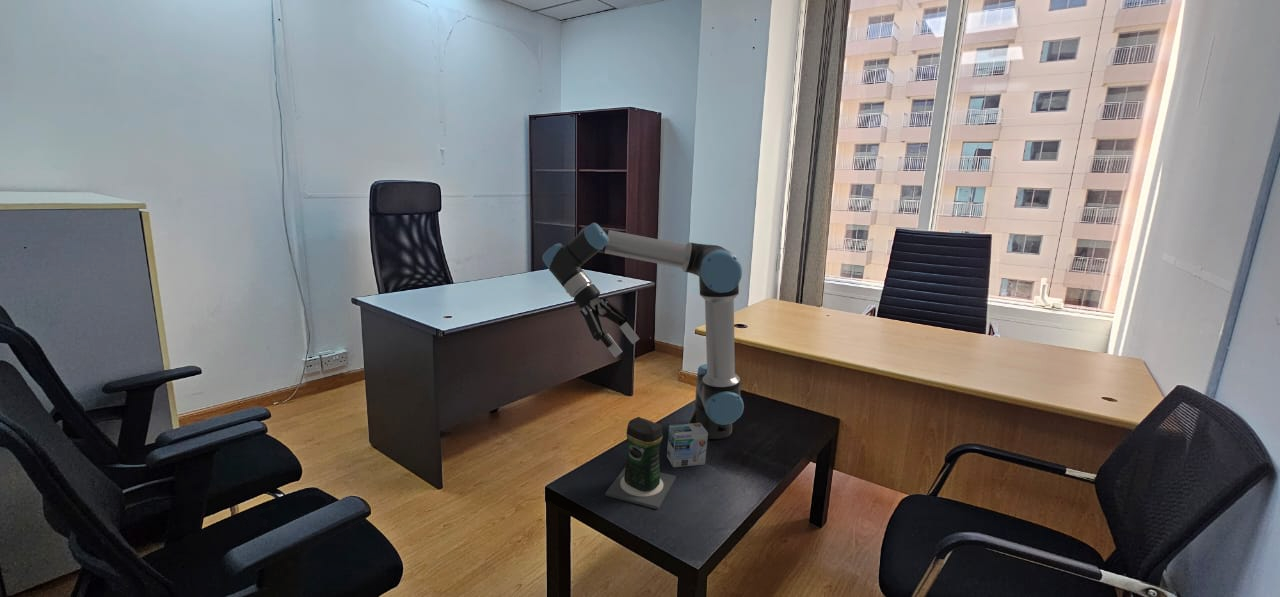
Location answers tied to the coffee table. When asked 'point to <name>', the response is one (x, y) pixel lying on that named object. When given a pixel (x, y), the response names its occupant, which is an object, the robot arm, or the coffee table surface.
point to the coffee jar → (643, 454)
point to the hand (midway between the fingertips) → (628, 347)
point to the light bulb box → (687, 444)
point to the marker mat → (634, 495)
